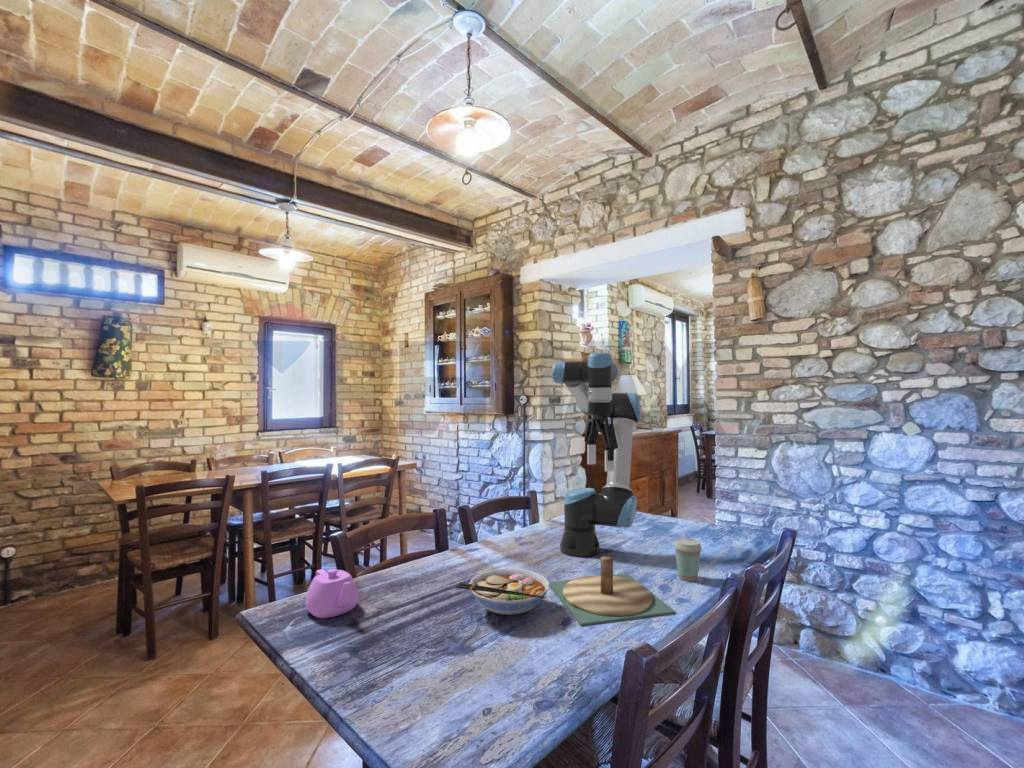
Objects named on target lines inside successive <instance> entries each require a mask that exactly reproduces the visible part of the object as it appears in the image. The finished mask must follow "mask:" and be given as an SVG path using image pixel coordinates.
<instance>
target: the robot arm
mask: <svg viewBox="0 0 1024 768" xmlns="http://www.w3.org/2000/svg"><path fill="white" fill-rule="evenodd" d="M587 358H588V360H587V361H585V360H584V361H557V362H555V363H553V365H552V369H551V377H552V381H553V383H555V384H561V385H562V384H563V385H565V387H566V388H567V389H568V391H569V392H570V394H571V396H573V398H574V400H575V401H576V406H577V408H578V409H579V411H581V413H583V414H584V415H586V416H587V423H586V430H585V434H584V442H586V445H587V449H586V451H587V466H588V465H596V463H597V442H596V440H597V438H598V435H599V434H601V437H602V441H603V442H604V472H606V474H607V475H606V484H605V485H604V486H603V487H601V493H600V492H599V493H597V492H596V490H595V488H593V487H578V488H574V489H570V490H567V491H566V493H565V494H564V503H563V506H564V518H563V519H564V530H563V533H562V536H561V540H560V543H559V551H560V552H561V553H563V554H565V555H566V556H573V557H579V558H580V557H581V558H584V557H592V556H593V557H594V556H596V555H599V553H600V552H601V545H600V542H599V538H598V535H597V532H596V526H604V527H613V528H614V527H615V528H631V527H632V526H633V524H634V522H635V518H636V513H637V506H638V504H637V503H638V499H637V497H636V496H635V495H634V491H633V490H632V489H631V487H630V481H631V480H630V479H631V466H632V465H631V464H632V452H633V451H632V450H633V448H632V447H633V436H634V435H633V432H634V429H635V428H637V426H638V423H640V422H642V409H641V402H640V396H639V395H638V394H637V393H636V392H635V393H633V392H613V388H612V387H613V385H612V384H613V382H615V380H616V379H617V378H618V376H619V375H618V374H619V369H618V367H617V364H615V363H614V362H613V360H612V359H613V358H612V354H610V353H608V352H596V353H595V352H594V353H590V354H589V355H588V357H587Z"/></svg>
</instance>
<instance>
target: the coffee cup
mask: <svg viewBox="0 0 1024 768" xmlns="http://www.w3.org/2000/svg"><path fill="white" fill-rule="evenodd" d="M673 547H674V550H675V551H674V552H675V558H676V559H675V560H676V566H677V567H676V569H677V576H678V579H680V580H681V581H683V582H684V581H685V582H692V583H693V582H696V581H698V577H699V575H698V574H699V568H700V567H699V566H700V561H701V560H700V559H701V551H702V545H701V542H700V541H699V540H697V539H694V538H691V537H690V538H689V537H679V538H676V539H675V541H674V543H673Z"/></svg>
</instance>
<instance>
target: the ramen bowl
mask: <svg viewBox="0 0 1024 768" xmlns="http://www.w3.org/2000/svg"><path fill="white" fill-rule="evenodd" d="M549 582H550V581H549V580H548V579H547V578H546V577H545V576H544V575H543V574H540V573H538V572H536V571H532V570H529V569H523V568H508V567H507V568H497V569H491V570H486V571H484V572H480V573H479V574H477V575H475V576H474V577H472V578H471V580H470V582H469V583H466V582H459V584H457V585H456V589H463V590H470V591H471V594H472V595H473V597H474V599H475V601H476V602H477V603H478V604H479V605H480V606H482V607H483V608H484V609H487V610H488V611H490V612H491V613H494V614H495V613H496V614H499V615H504V616H514V615H519V614H523V613H525V612H528V611H530V610H532V609H534V608H535V607H536V606H537V605H539V604H540V603H541V602H542V601H543V599H547V596H546V594H547V593H548V590H549V588H550V587H549Z"/></svg>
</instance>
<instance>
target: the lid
mask: <svg viewBox="0 0 1024 768" xmlns="http://www.w3.org/2000/svg"><path fill="white" fill-rule="evenodd" d="M613 575H614V558H613V557H612V556H601V557H600V574H599V575H597V574H596V575H595V574H594V575H585V576H581V577H577V578H573V579H574V580H571V579H570V580H571V581H569V582H568V583H567V584H566V585H565V586H564V588H563V597H564V599H565V600H566V601H567V602H568V603H569V604H570V605H572V606H573V607H575V608H577V609H579V610H582V611H585V612H588V613H592V614H597V615H604V616H628V615H634V614H637V613H640V612H643V611H645V610H647V609H648V608H649V607H650V606H651V604H652V594H651V592H652V591H650V590H649V589H648V588H647V587H646V586H645V585H643V584H641V583H640V582H639V583H640V584H639V583H637V582H635V581H632V580H629V579H625V578H621V577H615V576H613Z"/></svg>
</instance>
